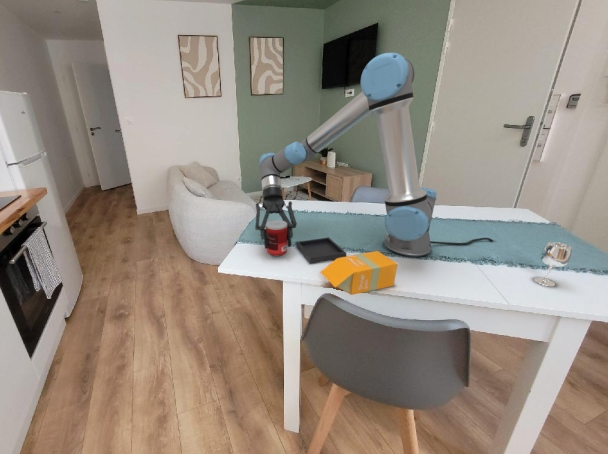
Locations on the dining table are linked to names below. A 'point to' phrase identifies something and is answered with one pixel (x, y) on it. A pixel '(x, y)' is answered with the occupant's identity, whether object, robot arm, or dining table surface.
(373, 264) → the orange juice
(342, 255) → the base pad
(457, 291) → the dining table surface
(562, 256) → the wineglass
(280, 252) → the canned food
